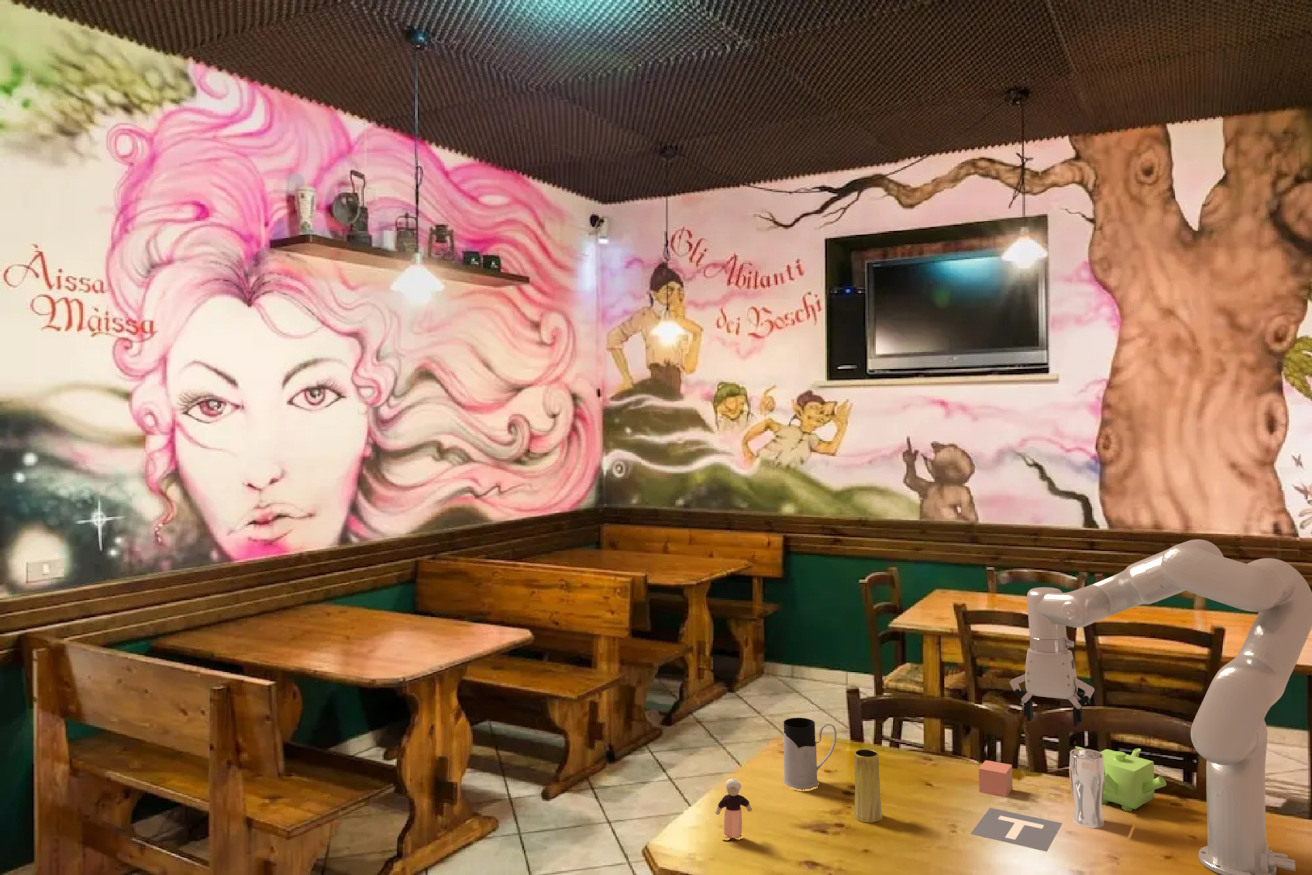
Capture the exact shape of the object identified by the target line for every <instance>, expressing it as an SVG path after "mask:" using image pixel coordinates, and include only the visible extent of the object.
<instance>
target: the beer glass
mask: <svg viewBox="0 0 1312 875" xmlns="http://www.w3.org/2000/svg"><path fill="white" fill-rule="evenodd" d="M1100 752H1101V751H1097V750H1093V749H1090V748H1084V749H1076V748H1074V749H1071V750H1070V751H1069V764H1068V765H1069V768H1068V772H1069V775H1068V776H1069V783H1070V788H1071V792H1072V797H1073V804H1074V805H1073V807H1074V809H1073V816H1072V821H1073V823H1074V824H1076V826H1077V825H1078V826H1080V827H1083V828H1087V829H1099V828H1103V827H1104V825H1105V822H1104V816H1103V808H1102V807H1103V804H1102V800H1103V795H1104V789H1105V764H1104V755H1103V754H1102V753H1100Z"/></svg>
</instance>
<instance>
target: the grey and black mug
mask: <svg viewBox="0 0 1312 875" xmlns="http://www.w3.org/2000/svg"><path fill="white" fill-rule="evenodd" d="M827 726H831V727H832V728H833V741H832V745H831V748H830V750H829V752H828V754H826V756H825V757H823V758H824V759H823V760H822V761H821V762H820V763H819V764H817V744H819V743H820V742H821V741H822V733H823V730H824V729H825V728H826V727H827ZM818 733H819V734H818V740H816V723H815V721H814V720H813V719H810V718H805V717H790V718H787V719H785V720H784V721H783V737H782V738H783V739H782V740H783V741H782V742H783V768H784V769H783V772H784V774H783V775H784V778H783V781H784V783H785V784H786V785H787V786H788V787H793V788H796V789H801V790H803V789H804V790H805V789H811V788H813V787H817V786H818V783H819V781H818V770H819V769H820V768H821V767H822V765H823V764H824V763H826V761H827V760H828V758H829V757H830V756H831V755H832V753H833V751H834V749H835V746H836V741H837V730H836V726H835V725H834V724H832V723H824V724H823V725H822V726H821V727H820V729H819V732H818ZM819 784H820V783H819Z"/></svg>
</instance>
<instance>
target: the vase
mask: <svg viewBox="0 0 1312 875" xmlns="http://www.w3.org/2000/svg"><path fill="white" fill-rule="evenodd" d="M853 753H854V754H853V761H854V762H853V765H854V812H853V816H854V819H856V820H857V821H859V822H862V823H868V824H871V823H872V824H873V823H878V822H881V820H882V819H883V813H882V800H881V798H882V797H881V782H880V780H881V779H880V778H881V777H880V761H879V760H880V759H879V754H880V753H879V752H878V751H876V750H875V749H871V748H859V749H856V750H855V751H854V752H853Z"/></svg>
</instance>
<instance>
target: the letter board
mask: <svg viewBox="0 0 1312 875" xmlns="http://www.w3.org/2000/svg"><path fill="white" fill-rule="evenodd" d="M1062 824H1063V823H1062V822H1058V821H1054V820H1049V819H1044V818H1040V817H1034V816H1030V815H1025V814H1021V813H1016V812H1011V811H1008V810H1003V809H998V808H994V807H989V808H988V809H987V811H986V813H984V815H983V816H982V818H981V819H980V820H979V821H978V823H977V824H976V826H975V827H974V828H973V829H972V831H971V832H970V835H973V836H978V837H982V838H986V839H992V840H995V841H999V842H1004V843H1007V844H1011V845H1016V846H1021V847H1024V848H1030V849H1034V850H1038V851H1042V852H1048V850H1049V848H1050V846H1051V845H1052V842H1053V840H1054V838H1055V837H1056V836H1057V834H1058V831H1059V830H1060V828H1061V827H1062Z"/></svg>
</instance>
